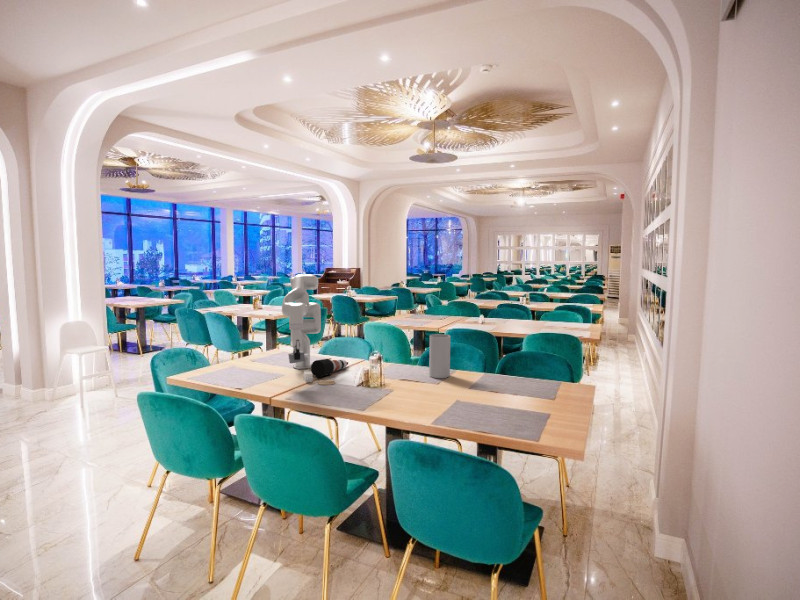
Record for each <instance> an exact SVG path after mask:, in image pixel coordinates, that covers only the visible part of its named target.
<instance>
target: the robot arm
mask: <svg viewBox="0 0 800 600" xmlns="http://www.w3.org/2000/svg"><path fill="white" fill-rule="evenodd" d="M290 286H291V291H290V292H289V291H288V293H287V294H286V295H285V296H284V297H283V299H282V303H281V312H282V313H281V314H282V315H283V316H285V317H289V318H288V320H289V321H288V323H289V327H288V329H289V330H290V346H291V347H292V353H294V352H295V353H294V360H300V351H303V352H304V354H307V353H308V354H309V357H305V361H302V362H297V363H294V364H293V365H292V368H293V369H297V370H303V369H304V370H305V369H307V370H308V369H311V365H312V363H311V340H310V338H309V336H308V335H309V334H312V335H314V334H319V333H320V332H321V330H322V322H321V321H322V319H321V318H322V315H321V313H322V310H321V305H320V304H319V303H318V302H310V295H309V293H308V292H307V290H309V291H310V290H314V291H315V290H317V289H318V287H319V279H318V277H317V276H316V275H315V274H296V275H294V277H293V276H292V277H291V278H290ZM304 318H305V319H304ZM312 318H313V319H312Z"/></svg>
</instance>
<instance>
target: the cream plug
mask: <svg viewBox="0 0 800 600" xmlns="http://www.w3.org/2000/svg"><path fill="white" fill-rule="evenodd" d="M313 376H314V375H313V373H312V372H311V370H309V369H307V370H303V381H304V382H305V383H312V382H314V380H313V379H314V377H313Z"/></svg>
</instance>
